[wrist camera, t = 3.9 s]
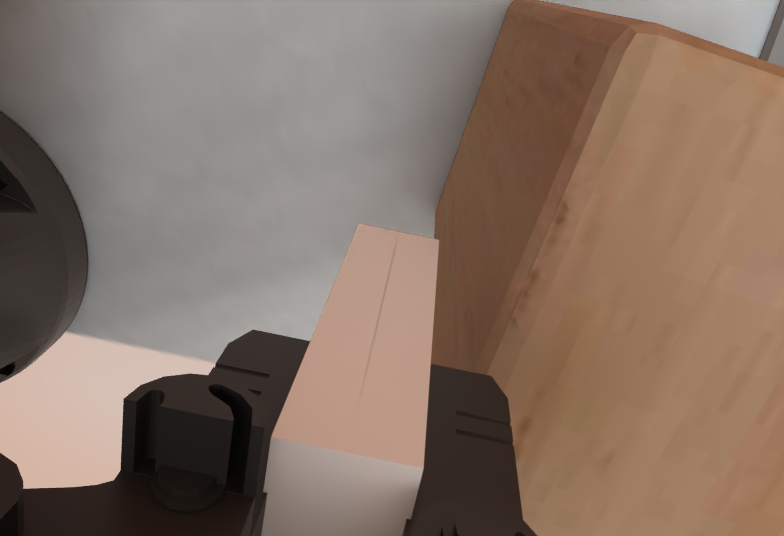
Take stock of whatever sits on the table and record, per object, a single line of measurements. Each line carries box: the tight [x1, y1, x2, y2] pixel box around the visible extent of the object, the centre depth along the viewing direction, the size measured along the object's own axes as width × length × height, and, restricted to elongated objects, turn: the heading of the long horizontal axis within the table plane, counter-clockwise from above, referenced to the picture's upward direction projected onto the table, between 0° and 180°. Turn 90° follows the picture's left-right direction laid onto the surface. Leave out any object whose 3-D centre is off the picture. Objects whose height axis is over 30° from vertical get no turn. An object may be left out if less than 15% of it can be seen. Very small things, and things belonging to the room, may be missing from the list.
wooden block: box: [431, 0, 784, 536], centre depth 21 cm, size 10×10×20 cm
